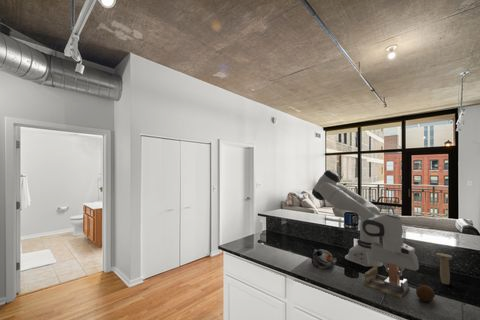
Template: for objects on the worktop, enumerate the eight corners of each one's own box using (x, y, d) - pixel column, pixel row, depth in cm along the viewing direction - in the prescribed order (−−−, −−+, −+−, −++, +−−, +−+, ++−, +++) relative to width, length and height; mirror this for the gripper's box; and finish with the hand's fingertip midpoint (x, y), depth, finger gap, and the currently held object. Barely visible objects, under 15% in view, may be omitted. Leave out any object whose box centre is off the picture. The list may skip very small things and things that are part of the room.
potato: (436, 298, 107) (435, 283, 108) (434, 308, 99) (433, 292, 99) (418, 292, 112) (417, 278, 112) (415, 302, 103) (414, 287, 104)
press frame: (365, 285, 120) (364, 273, 120) (374, 277, 128) (374, 266, 128) (401, 297, 107) (400, 284, 108) (408, 288, 116) (408, 276, 116)
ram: (384, 286, 115) (383, 262, 116) (389, 282, 120) (388, 259, 121) (403, 293, 109) (402, 268, 110) (407, 288, 114) (406, 264, 114)
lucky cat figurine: (336, 264, 146) (340, 248, 140) (331, 278, 138) (335, 262, 132) (313, 253, 154) (316, 238, 148) (307, 265, 146) (310, 250, 140)
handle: (437, 279, 125) (436, 252, 126) (453, 284, 120) (452, 255, 121) (437, 282, 122) (435, 254, 123) (453, 287, 117) (451, 257, 118)
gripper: (368, 242, 122) (369, 268, 121) (415, 252, 106) (416, 282, 106) (373, 240, 126) (374, 265, 125) (418, 249, 110) (420, 278, 110)
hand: (394, 273), depth 115 cm, fingers closed on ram, 4 cm apart
